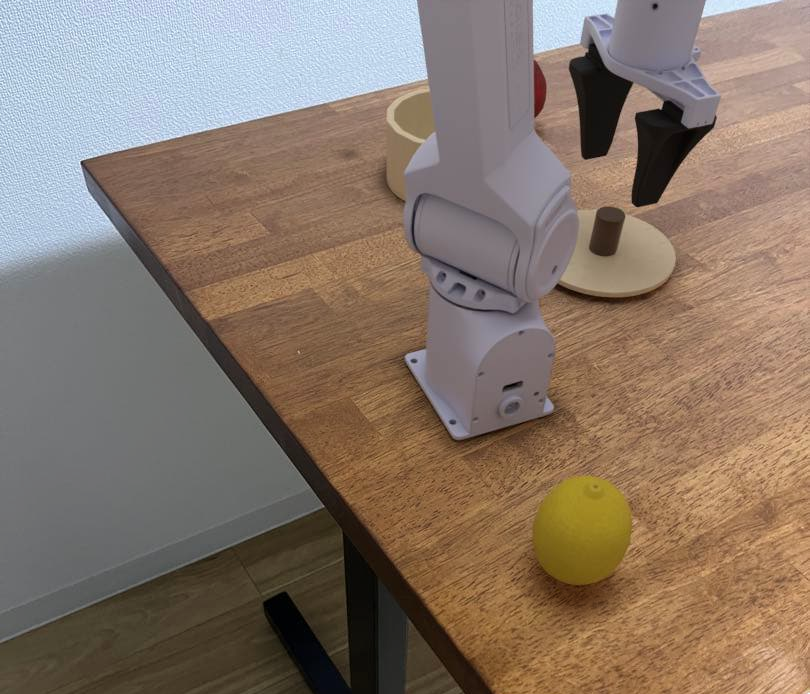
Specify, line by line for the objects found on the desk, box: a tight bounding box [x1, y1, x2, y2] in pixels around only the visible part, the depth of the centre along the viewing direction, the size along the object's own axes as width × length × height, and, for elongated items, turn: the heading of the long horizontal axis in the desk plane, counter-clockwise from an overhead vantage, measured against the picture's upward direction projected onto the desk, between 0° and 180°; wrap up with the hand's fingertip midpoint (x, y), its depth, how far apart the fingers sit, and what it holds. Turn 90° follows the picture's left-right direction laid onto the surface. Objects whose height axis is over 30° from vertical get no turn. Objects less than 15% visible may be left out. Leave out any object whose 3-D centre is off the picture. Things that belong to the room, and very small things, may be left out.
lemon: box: [531, 475, 633, 586], centre depth 47 cm, size 6×6×8 cm
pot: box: [386, 87, 435, 202], centre depth 75 cm, size 11×11×6 cm
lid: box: [557, 206, 677, 298], centre depth 68 cm, size 12×12×4 cm
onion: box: [534, 59, 548, 119], centre depth 80 cm, size 6×6×8 cm
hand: (618, 178), depth 64 cm, fingers open, 7 cm apart
